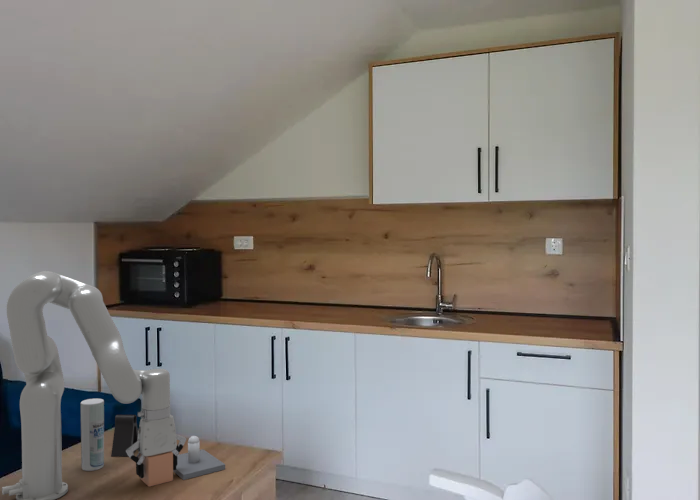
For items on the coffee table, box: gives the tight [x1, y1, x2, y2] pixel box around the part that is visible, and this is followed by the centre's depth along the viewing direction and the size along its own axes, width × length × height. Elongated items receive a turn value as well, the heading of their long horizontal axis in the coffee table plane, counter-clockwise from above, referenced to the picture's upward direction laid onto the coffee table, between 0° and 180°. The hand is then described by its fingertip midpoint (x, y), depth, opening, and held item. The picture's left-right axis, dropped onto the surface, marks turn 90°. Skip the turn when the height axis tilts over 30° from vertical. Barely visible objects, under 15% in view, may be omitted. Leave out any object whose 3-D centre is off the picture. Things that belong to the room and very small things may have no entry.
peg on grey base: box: [173, 435, 226, 481], centre depth 182 cm, size 13×16×9 cm
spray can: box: [80, 398, 105, 472], centre depth 181 cm, size 6×6×20 cm
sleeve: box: [139, 452, 174, 487], centre depth 172 cm, size 7×7×8 cm
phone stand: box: [110, 414, 139, 458], centre depth 194 cm, size 9×6×12 cm, turn 178°
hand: (157, 472), depth 172 cm, fingers open, 9 cm apart
